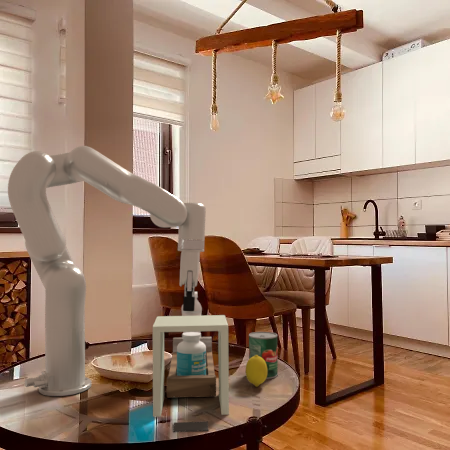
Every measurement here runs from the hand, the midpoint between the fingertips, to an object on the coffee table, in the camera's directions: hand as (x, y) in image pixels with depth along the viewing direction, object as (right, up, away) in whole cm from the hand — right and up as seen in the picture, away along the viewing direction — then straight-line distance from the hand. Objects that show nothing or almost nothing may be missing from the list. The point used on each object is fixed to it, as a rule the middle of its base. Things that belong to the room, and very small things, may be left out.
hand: (188, 310), depth 133 cm
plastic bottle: (0, -17, +17) cm, 24 cm away
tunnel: (+3, -17, -27) cm, 32 cm away
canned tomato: (+21, -17, -5) cm, 27 cm away
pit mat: (+3, -16, -39) cm, 42 cm away
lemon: (+18, -17, -14) cm, 29 cm away
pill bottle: (+2, -17, -14) cm, 22 cm away
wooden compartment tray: (+1, -16, -7) cm, 18 cm away
